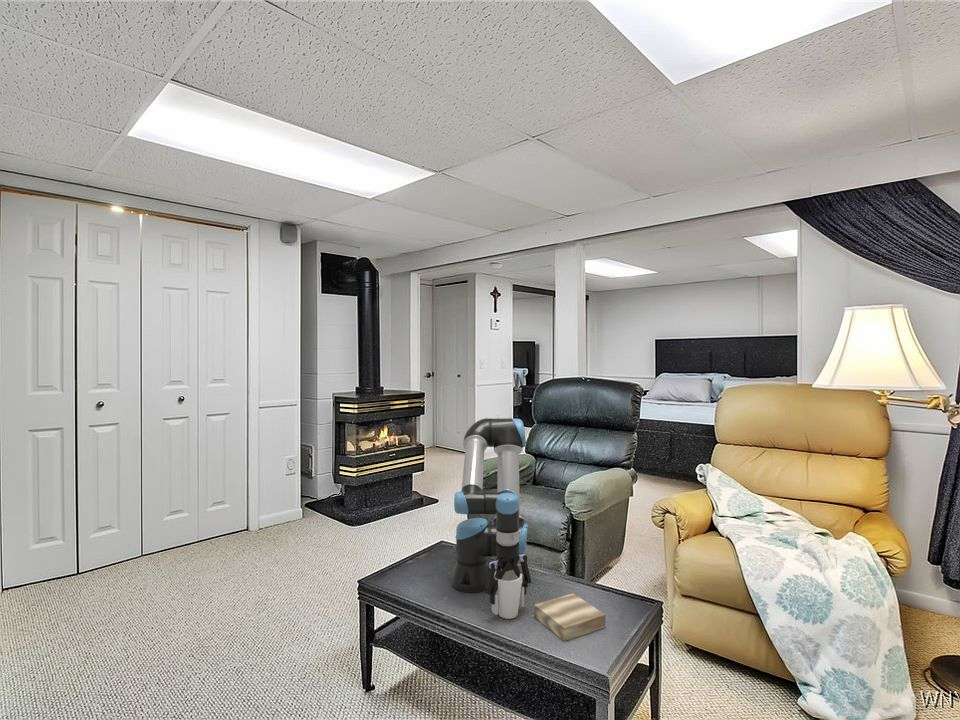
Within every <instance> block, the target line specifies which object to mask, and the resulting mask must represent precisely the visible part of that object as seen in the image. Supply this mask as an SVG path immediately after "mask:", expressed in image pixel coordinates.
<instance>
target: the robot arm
mask: <svg viewBox="0 0 960 720" xmlns="http://www.w3.org/2000/svg"><path fill="white" fill-rule="evenodd" d="M526 440H527V439H526V432H525V426H524V422H523V420H522V419H521V418H512V417H510V418H506V417H505V418H490V417H489V418H488V417H487V418H481V419H479V420H477V421H476V422H474V423H473V424H472V425H471V426H470V427H469V428H468V429H467V431H466V432H465V435H464V438H463V444H462V445H463V449H464V450H465V451H464V457H463V458H464V459H463V470H462V482H461V490H460V491H456V492H454V502H453V504H454V505H453V507H454V512H455V513H456V514H457V515H495V517H494V518H493V519H492V520H493V522H492V523H489V521H488V520H487V519H486V518H482V517H473V518H468V519H467V518H466V519H465V520H462V521H461V522H459V523H458V525H457V526H456V531H455V539H456V541H455V543H456V544H455V545H456V547H455V548H456V554H455V556H456V561H455V566H454V569H453V572H452V576H451V586H452V587H453V588H454V589H456V590H457V591H460V592H464V593H479V592H484V593H486V594H487V595H489V603H490V604H491V612H492V613H493V614H494V615H495V616H497V615H499V612H498V595H497V594H496V591H497V589H498V580H495V577H496V578H497V579H500V580H501V579H502V577H503V575H504V574H505V572H508V571H509V570H513V571H514V573H515V574H516V576H517V577H518V578H520V574H522V585H521V592H520V600H519V606H520V607H521V608H524V607H525V596H526V594H527V588H528V587H529V585H528V584H531V583H532V579H531V574H530V570H529V565H528V556H527V555H526V554H525V553H526V549H527V539H528V528H529V525H528V524H527V523H525V518H524V517H523V516H522V515H521V505H520V503H521V501H520V499H521V498H520V455H521V453H523V448H525V447H526V446H527V441H526ZM488 447H489V448H493V452H494V453H495V454H496V455H497V472H496V473H497V491H483V489H484V488H483V486H484V485H483V484H484V463H485V451H486V450H487V448H488ZM488 557H489V558H490V557H492V558H496V559H495V560H493V561H491V560H489V561H488ZM518 563H520V566H521V570H520V568H519V566H518ZM501 570H502V571H501ZM521 571H522V572H521ZM495 572H496V574H495ZM494 575H495V576H494Z"/></svg>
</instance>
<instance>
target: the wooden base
mask: <svg viewBox="0 0 960 720" xmlns="http://www.w3.org/2000/svg"><path fill="white" fill-rule="evenodd" d="M533 608H534V609H533V610H534V611H533V612H534V618H535V619H536V620H538V621H539V622H540V623H541V624H543V625H544V626H545V627H546V628H548V629H549V630H550V631H551V632H552V633H554V634H555V635H556V636H557V637H559V638H560V639H561V640H562V641H563V642H567V641H569V640H573V639H575V638H577V637H580V636H581V637H582V636H583V635H586V634H587V635H588V634H589V633H593V632H595V631H598V630H601V629H605V628H606V614H605V613H603V612H602V611H601V610H599V609H597V608H596V607H594V606H593V605H591V603H588V602H587V601H586V600H584V599H582V598H581V597H580V596H578V595H577V594H575V593H574V592H573V593H569V594H566V595H563V596H559V597H556V598H553V599H550V600H545V601H542V602H540V603H536V604H534V607H533Z"/></svg>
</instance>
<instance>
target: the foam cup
mask: <svg viewBox="0 0 960 720" xmlns="http://www.w3.org/2000/svg"><path fill="white" fill-rule="evenodd" d="M501 571H502V570H501ZM495 574H496V571H495ZM494 576H495V575H494ZM522 576H523V573H521V574H520V578H518V577H517V576H516V574H515V573H514V571H513V570H509V571H508V572H505V574H504V575H503V577H502V579H501V580H500V579H497V578H496V577H495V580H498V589H497V591H496V594H497V595H498V615H499V617H501V618H503V619H507V620H508V619H509V620H510V619H515V618H517V616H518V615H519V613H518V612H519V608H520V607H519V606H520V605H519V600H520V592H521V585H522Z"/></svg>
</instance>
